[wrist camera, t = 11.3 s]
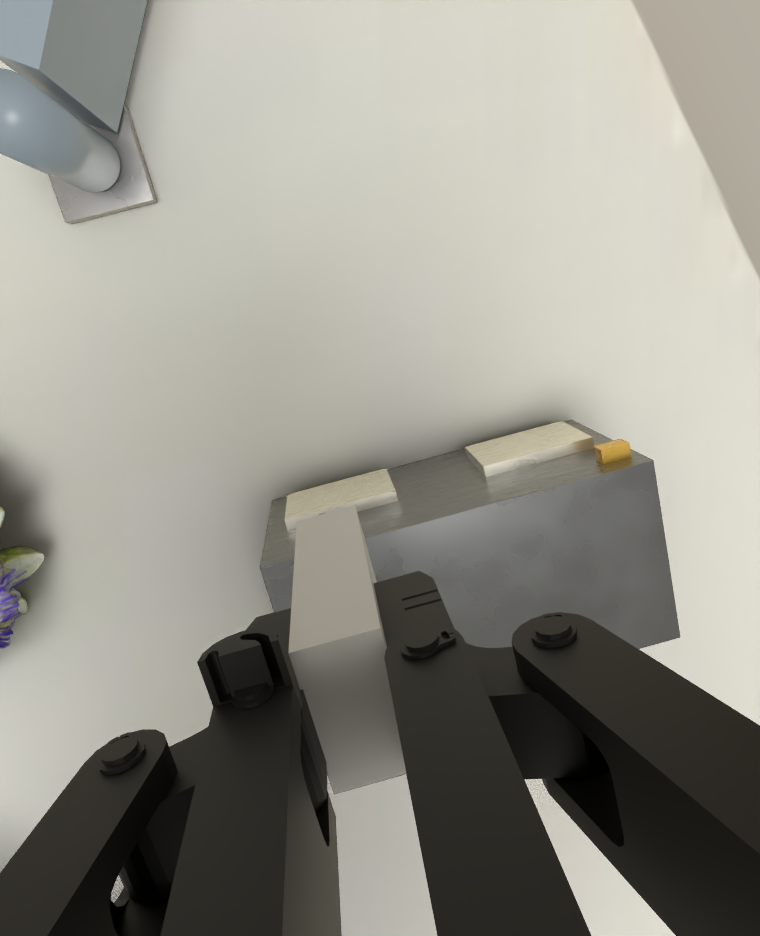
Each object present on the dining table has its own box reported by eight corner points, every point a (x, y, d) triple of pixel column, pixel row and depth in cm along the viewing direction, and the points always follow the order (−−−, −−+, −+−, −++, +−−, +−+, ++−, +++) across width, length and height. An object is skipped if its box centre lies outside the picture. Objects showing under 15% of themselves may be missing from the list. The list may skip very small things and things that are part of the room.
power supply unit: (313, 637, 38) (315, 739, 29) (268, 489, 36) (255, 553, 27) (597, 559, 39) (680, 637, 30) (570, 408, 36) (651, 445, 28)
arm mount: (71, 224, 32) (65, 222, 31) (39, 131, 31) (31, 126, 30) (157, 202, 32) (153, 199, 31) (128, 108, 31) (122, 103, 30)
